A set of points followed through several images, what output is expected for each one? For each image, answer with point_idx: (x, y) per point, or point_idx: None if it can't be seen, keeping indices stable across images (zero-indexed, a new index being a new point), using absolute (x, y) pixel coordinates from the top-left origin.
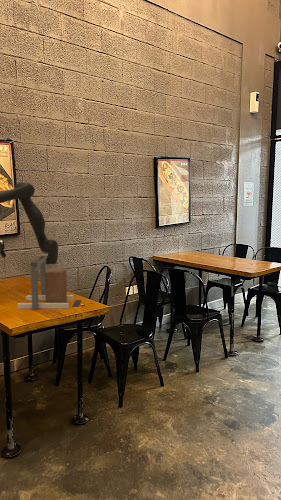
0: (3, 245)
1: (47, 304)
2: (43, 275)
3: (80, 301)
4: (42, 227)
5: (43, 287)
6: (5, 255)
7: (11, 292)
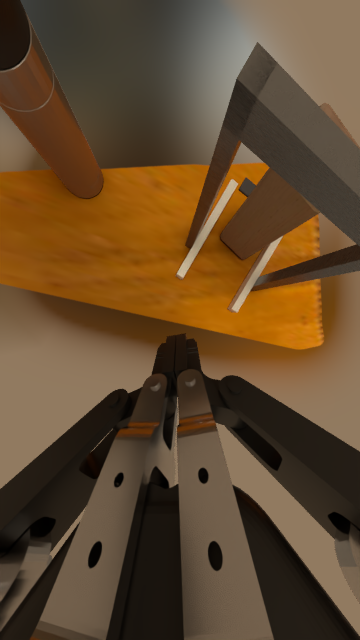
0: (315, 437)
1: (266, 262)
2: (214, 199)
3: (255, 186)
4: None
5: (201, 228)
6: (186, 339)
7: (85, 285)
